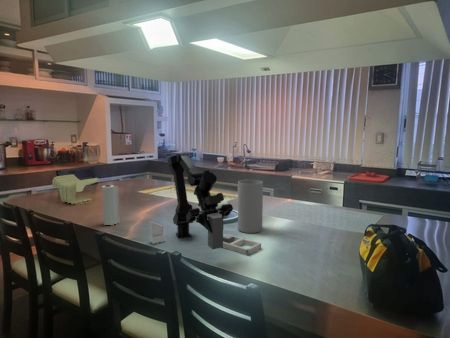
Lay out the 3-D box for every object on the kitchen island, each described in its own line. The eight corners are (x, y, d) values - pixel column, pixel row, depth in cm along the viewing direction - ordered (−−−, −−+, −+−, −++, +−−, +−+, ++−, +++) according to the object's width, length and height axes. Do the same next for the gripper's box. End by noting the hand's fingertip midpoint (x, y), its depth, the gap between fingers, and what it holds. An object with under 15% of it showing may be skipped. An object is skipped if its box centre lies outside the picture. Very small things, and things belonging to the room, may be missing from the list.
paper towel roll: (101, 225, 168) (99, 186, 166) (109, 222, 174) (107, 184, 171) (112, 226, 166) (110, 187, 163) (119, 223, 171) (118, 185, 169)
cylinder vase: (261, 234, 154) (262, 184, 151) (236, 232, 156) (236, 183, 153) (262, 226, 166) (263, 180, 163) (239, 225, 168) (239, 179, 165)
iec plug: (208, 246, 123) (207, 214, 122) (218, 243, 125) (218, 212, 124) (212, 249, 120) (212, 216, 118) (223, 247, 122) (222, 214, 120)
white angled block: (141, 238, 141) (149, 220, 143) (159, 244, 147) (167, 227, 149) (144, 240, 138) (152, 222, 140) (162, 247, 144) (170, 229, 146)
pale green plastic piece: (53, 201, 223) (52, 176, 221) (75, 197, 236) (73, 174, 234) (77, 207, 207) (75, 180, 204) (99, 202, 220) (97, 177, 217)
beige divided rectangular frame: (261, 248, 136) (261, 240, 136) (247, 255, 129) (248, 247, 128) (226, 238, 148) (226, 231, 148) (212, 244, 141) (212, 237, 140)
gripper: (188, 188, 118) (201, 224, 110) (231, 184, 127) (245, 217, 119) (181, 204, 126) (192, 239, 118) (221, 199, 135) (234, 231, 127)
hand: (217, 231), depth 121 cm, fingers closed on iec plug, 4 cm apart
